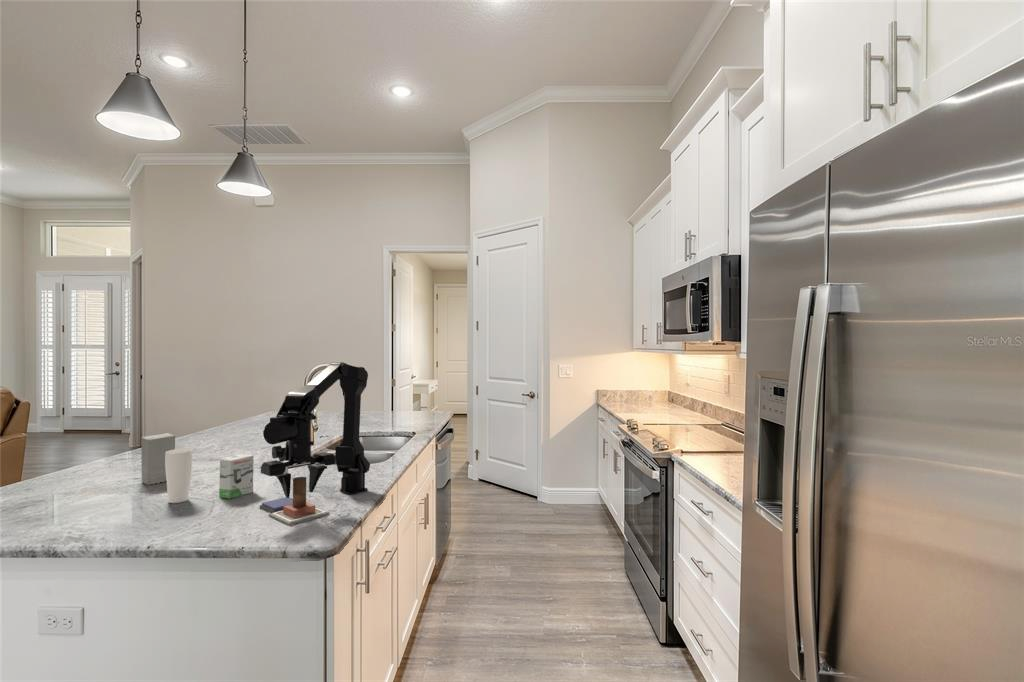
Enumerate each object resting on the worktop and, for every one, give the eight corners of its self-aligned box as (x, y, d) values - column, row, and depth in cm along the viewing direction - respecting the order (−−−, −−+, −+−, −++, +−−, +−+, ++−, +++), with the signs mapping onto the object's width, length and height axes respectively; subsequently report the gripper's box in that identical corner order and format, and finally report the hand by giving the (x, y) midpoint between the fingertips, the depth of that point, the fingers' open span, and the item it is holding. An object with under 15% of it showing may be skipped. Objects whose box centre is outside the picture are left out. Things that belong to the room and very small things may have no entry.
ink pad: (288, 501, 151) (288, 496, 151) (302, 506, 146) (302, 501, 146) (259, 508, 145) (259, 502, 145) (273, 514, 139) (273, 508, 139)
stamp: (304, 508, 143) (304, 474, 143) (315, 512, 139) (315, 478, 139) (283, 513, 138) (283, 478, 138) (294, 518, 134) (294, 482, 135)
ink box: (230, 499, 153) (230, 460, 153) (218, 497, 155) (218, 458, 155) (254, 491, 161) (254, 454, 161) (242, 490, 163) (242, 453, 163)
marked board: (308, 506, 147) (308, 503, 147) (329, 514, 139) (329, 511, 139) (268, 516, 138) (268, 513, 138) (288, 525, 131) (288, 522, 131)
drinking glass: (196, 499, 153) (197, 449, 153) (173, 506, 146) (174, 454, 147) (182, 496, 155) (183, 447, 156) (159, 502, 149) (160, 451, 149)
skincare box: (168, 477, 178) (168, 432, 178) (176, 480, 174) (177, 434, 174) (139, 482, 171) (140, 435, 171) (147, 486, 167) (148, 438, 167)
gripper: (316, 430, 151) (316, 482, 151) (251, 439, 137) (251, 496, 137) (336, 434, 144) (336, 489, 144) (270, 444, 130) (270, 505, 130)
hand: (299, 494), depth 139 cm, fingers open, 6 cm apart
